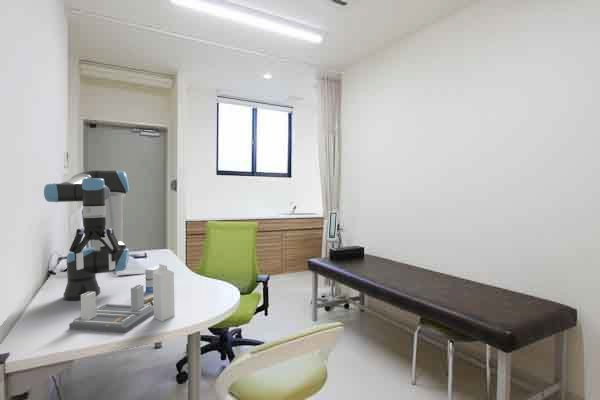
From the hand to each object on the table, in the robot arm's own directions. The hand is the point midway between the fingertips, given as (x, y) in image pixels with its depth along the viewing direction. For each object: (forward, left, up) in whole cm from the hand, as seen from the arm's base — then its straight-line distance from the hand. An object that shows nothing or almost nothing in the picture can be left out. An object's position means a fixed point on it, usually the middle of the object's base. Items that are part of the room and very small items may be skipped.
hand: (96, 269), depth 125 cm
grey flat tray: (+6, +2, -21) cm, 22 cm away
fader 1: (-2, -3, -19) cm, 20 cm away
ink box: (-1, +39, -22) cm, 45 cm away
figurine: (+9, +19, -22) cm, 30 cm away
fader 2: (+12, +7, -19) cm, 24 cm away
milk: (+24, +7, -22) cm, 33 cm away
